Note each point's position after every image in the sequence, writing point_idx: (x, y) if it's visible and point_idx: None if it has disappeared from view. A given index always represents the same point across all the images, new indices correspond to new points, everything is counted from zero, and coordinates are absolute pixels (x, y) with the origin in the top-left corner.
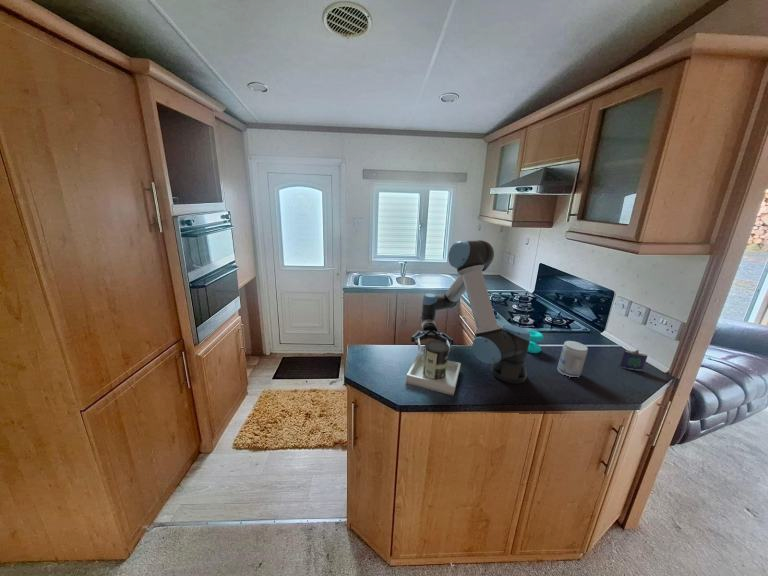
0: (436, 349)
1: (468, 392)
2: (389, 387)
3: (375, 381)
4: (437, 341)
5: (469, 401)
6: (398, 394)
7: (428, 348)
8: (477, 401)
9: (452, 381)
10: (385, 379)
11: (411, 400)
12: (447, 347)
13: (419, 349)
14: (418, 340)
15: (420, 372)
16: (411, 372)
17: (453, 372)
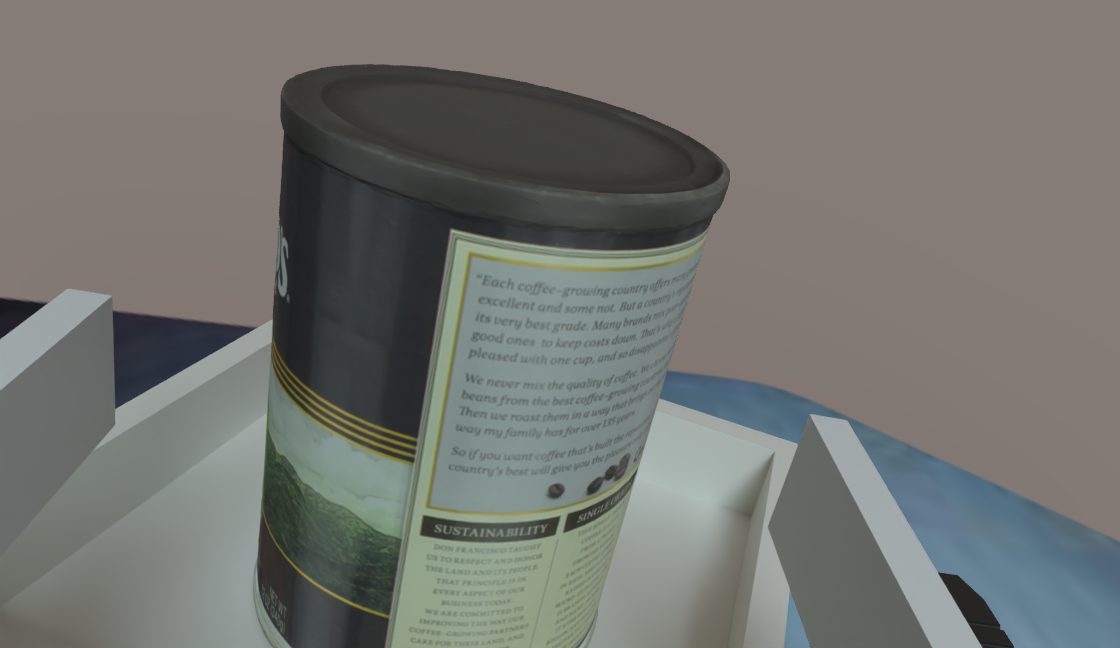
0: (541, 104)
1: (129, 381)
2: (902, 499)
3: (1076, 575)
4: (462, 168)
5: (206, 323)
6: (796, 434)
7: (665, 127)
8: (131, 314)
9: (231, 459)
10: (1003, 594)
11: (684, 384)
12: (334, 77)
13: (781, 517)
14: (925, 568)
15: (625, 628)
16: (757, 524)
17: (71, 604)
